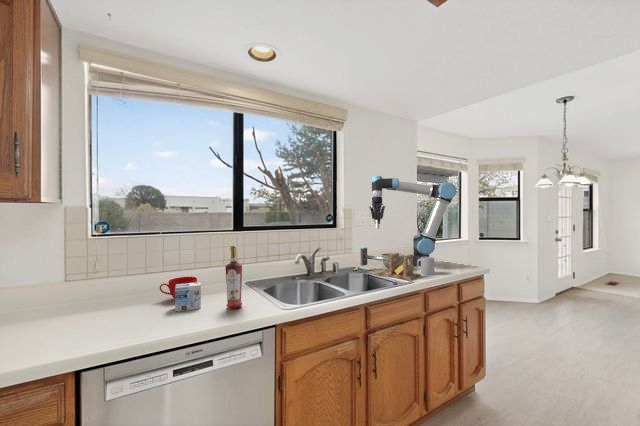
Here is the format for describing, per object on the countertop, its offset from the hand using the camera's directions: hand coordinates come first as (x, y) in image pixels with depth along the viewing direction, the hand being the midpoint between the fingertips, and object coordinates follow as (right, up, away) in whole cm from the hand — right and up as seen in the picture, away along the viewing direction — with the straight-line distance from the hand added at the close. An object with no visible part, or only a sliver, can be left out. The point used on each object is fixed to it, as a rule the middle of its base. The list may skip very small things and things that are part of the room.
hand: (377, 228), depth 222 cm
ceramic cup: (-113, -32, -74) cm, 139 cm away
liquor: (-81, -32, -87) cm, 124 cm away
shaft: (-3, -26, -17) cm, 31 cm away
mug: (+28, -29, -22) cm, 46 cm away
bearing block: (+8, -30, -27) cm, 41 cm away
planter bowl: (+10, -30, -7) cm, 32 cm away
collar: (+8, -27, -28) cm, 40 cm away
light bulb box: (-102, -32, -87) cm, 138 cm away
